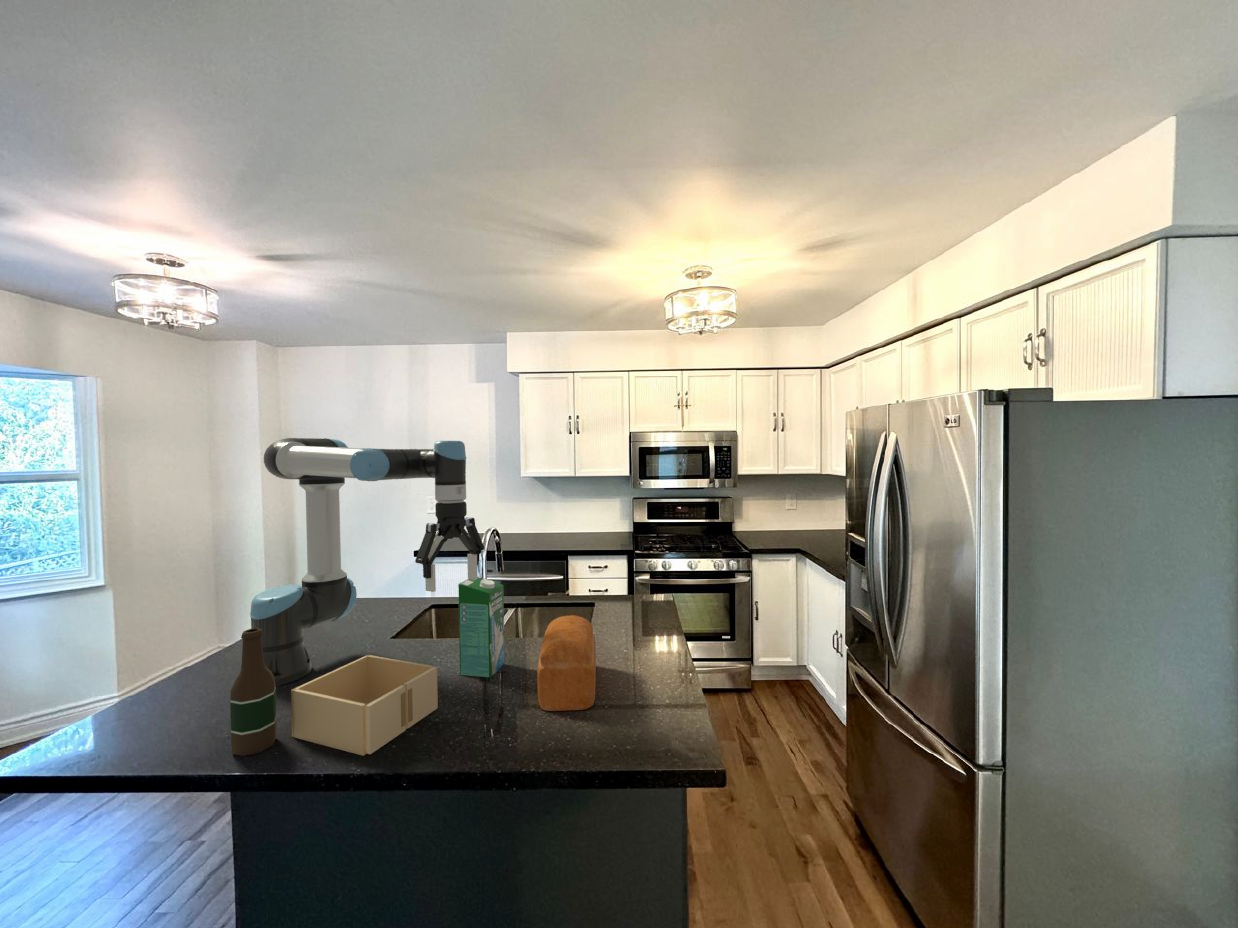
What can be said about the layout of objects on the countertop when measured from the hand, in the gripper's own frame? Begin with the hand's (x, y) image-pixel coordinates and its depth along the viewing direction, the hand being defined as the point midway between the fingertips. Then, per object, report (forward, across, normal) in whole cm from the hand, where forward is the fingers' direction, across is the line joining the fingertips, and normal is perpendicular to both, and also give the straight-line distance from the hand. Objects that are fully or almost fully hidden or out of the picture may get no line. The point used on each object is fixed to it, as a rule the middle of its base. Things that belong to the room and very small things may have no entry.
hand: (452, 584), depth 129 cm
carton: (+26, -21, +4) cm, 34 cm away
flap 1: (+26, -24, -7) cm, 36 cm away
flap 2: (+26, -15, -6) cm, 30 cm away
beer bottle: (+27, -38, +16) cm, 49 cm away
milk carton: (+27, +12, +2) cm, 29 cm away
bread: (+27, +15, -25) cm, 40 cm away
